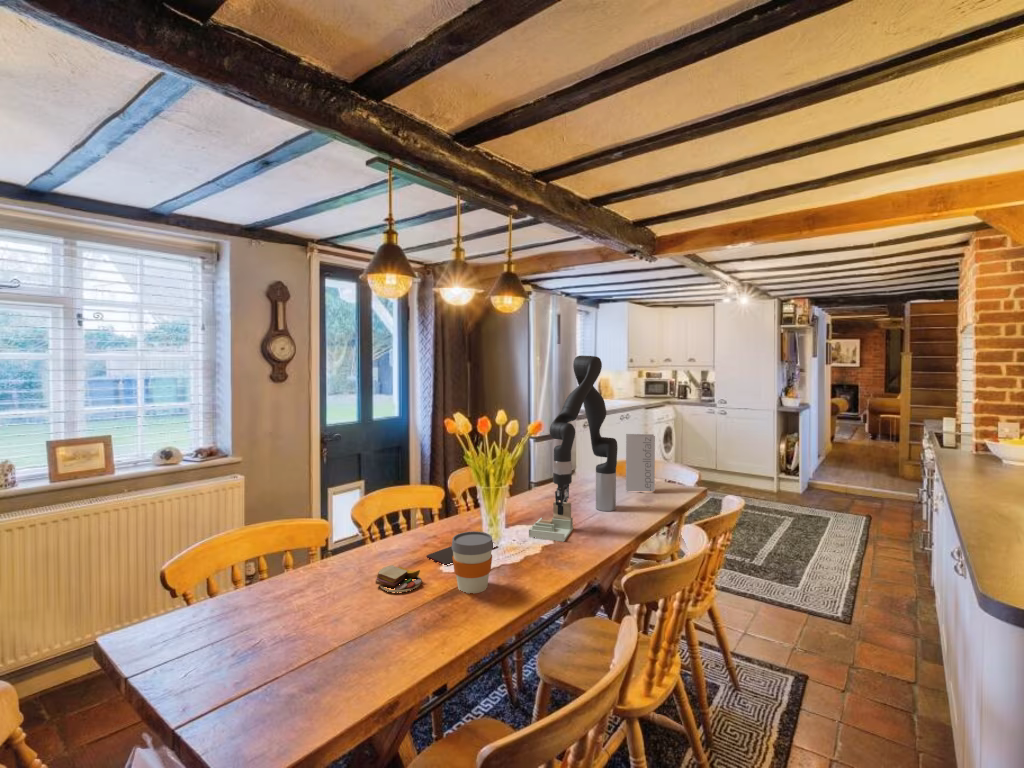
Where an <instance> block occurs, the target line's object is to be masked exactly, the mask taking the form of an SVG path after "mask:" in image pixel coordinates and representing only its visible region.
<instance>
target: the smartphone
mask: <svg viewBox="0 0 1024 768" xmlns="http://www.w3.org/2000/svg"><path fill="white" fill-rule="evenodd" d="M425 557H427V558H426V559H428V558H429V559H428V560H430V559H432V560H434V561H435V563H437V562H439V563H441V564H444V565H447V564H450V563H453V550H452V545H451V546H448V547H445V548H443V549H439V550H437V551H434V552H432V553H429V554H426V556H425ZM432 560H431V561H432ZM439 563H438V564H439Z"/></svg>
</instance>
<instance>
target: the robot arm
mask: <svg viewBox="0 0 1024 768" xmlns="http://www.w3.org/2000/svg"><path fill="white" fill-rule="evenodd" d="M602 363H603V361H602V360H601V358H600V357H598V356H595V355H577V356H576V357H575V358H574V360H573V363H572V364H573V367H572V368H573V372H574V375H575V379H576V382H577V385H578V386H576V388H574V389H573V390H572V391H571V392H570V393H569V394H568V395H567V397H566V399H565V402H564V403H563V406H562V408H561V411H560V412H559V413H558V414H557V416H556V417H555V419H554V420H553V421H552V423H551V424H550V427H549V435H550V437H551V438H552V439H555V440H561V444H559V445H556V446H554V448H553V464H552V465H553V466H552V483H553V484H555V485H557V488H556V490H555V492H554V496H555V501H556V505H558V515H563V505H564V502H567V503H568V499H569V498H570V485H571V484H572V481H573V479H572V476H573V474H572V472H573V471H572V449H573V445H574V442H575V437H576V428H575V426H574V425H573V424H572V423H570V422H574V421H576V420H577V418H578V416H579V414H580V411H581V409H582V406H583V408H584V412H585V416H586V419H587V424H588V429H589V435H590V444H591V450H592V453H593V455H594V456H596V457H598V458H606V461H605V462H603V463H599V464H596V466H595V509H596V510H598V511H603V512H614V511H615V510H617V465H618V449H619V448H618V441H617V439H616V438H614V437H609V436H607V437H605V436H601V427H602V425H603V423H604V421H605V419H606V417H607V408H606V402H605V400H604V398H603V396H602V395H601V393H600V392H599V390H597V389H596V387H594V385H595V383H596V382H597V380H598V378H599V376H600V374H601V371H602V367H603V366H602V365H603V364H602Z"/></svg>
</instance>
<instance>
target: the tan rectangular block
mask: <svg viewBox="0 0 1024 768" xmlns="http://www.w3.org/2000/svg"><path fill="white" fill-rule="evenodd" d="M552 503H553V506H552V507H553V510H552V512H553V515H552V518H553V519H562V520H571V518H572V502H568V501H567V502H564V505H563V515H558V505H556V500H554V501H553V502H552Z"/></svg>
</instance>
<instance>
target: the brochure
mask: <svg viewBox="0 0 1024 768" xmlns="http://www.w3.org/2000/svg"><path fill="white" fill-rule="evenodd" d="M655 460H656V435H655V434H649V433H648V434H647V433H646V434H645V433H642V434H641V433H626V435H625V491H656V490H655V484H656V483H655V482H656V481H655V478H656V475H655V472H656V471H655V470H656V468H655V467H656V461H655Z"/></svg>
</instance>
